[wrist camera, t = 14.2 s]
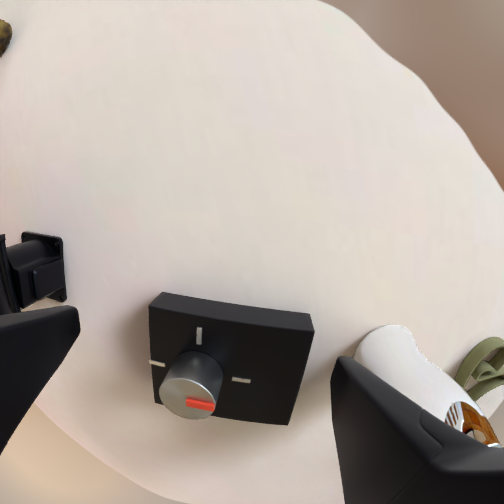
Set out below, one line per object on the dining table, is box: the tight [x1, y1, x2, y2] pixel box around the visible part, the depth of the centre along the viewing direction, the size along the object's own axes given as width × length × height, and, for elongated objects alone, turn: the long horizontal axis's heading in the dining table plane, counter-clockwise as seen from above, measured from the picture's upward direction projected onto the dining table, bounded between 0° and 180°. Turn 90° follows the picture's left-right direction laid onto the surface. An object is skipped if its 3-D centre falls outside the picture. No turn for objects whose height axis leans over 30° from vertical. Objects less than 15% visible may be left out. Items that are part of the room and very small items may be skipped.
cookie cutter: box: [455, 337, 504, 401], centre depth 22 cm, size 18×12×2 cm, turn 146°
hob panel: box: [148, 292, 315, 425], centre depth 21 cm, size 12×10×3 cm
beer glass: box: [354, 324, 502, 448], centre depth 15 cm, size 7×7×15 cm
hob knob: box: [159, 351, 223, 419], centre depth 18 cm, size 4×4×4 cm
